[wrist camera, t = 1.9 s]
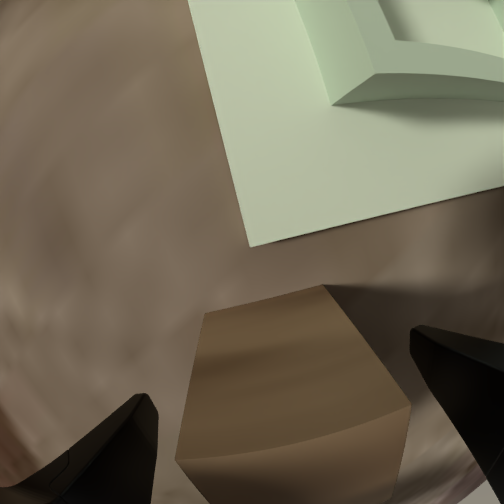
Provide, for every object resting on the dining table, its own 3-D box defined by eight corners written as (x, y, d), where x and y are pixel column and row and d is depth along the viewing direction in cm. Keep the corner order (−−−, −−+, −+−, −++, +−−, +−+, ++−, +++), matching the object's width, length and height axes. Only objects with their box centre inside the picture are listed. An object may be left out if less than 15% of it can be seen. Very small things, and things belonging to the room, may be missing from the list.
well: (557, 170, 9) (604, 176, 5) (249, 241, 9) (256, 284, 5) (481, -40, 6) (513, -59, 2) (170, -72, 6) (155, -126, 2)
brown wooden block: (335, 375, 11) (391, 498, 5) (236, 399, 11) (239, 533, 5) (322, 284, 10) (411, 404, 4) (204, 313, 10) (174, 459, 4)
